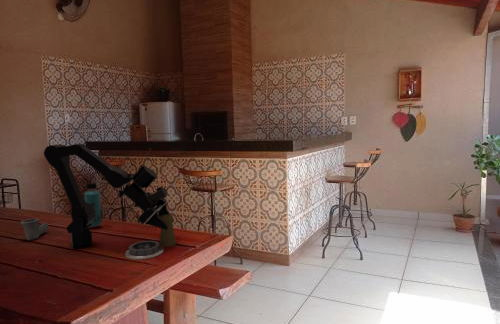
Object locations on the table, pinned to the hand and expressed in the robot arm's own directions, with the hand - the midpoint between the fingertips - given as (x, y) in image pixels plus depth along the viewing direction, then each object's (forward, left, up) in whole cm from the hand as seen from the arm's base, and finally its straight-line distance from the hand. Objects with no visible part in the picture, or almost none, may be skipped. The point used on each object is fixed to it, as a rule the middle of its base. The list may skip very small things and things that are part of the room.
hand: (170, 225), depth 140 cm
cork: (-1, +1, -7) cm, 7 cm away
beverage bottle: (-19, +43, -7) cm, 47 cm away
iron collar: (-11, -3, -7) cm, 14 cm away
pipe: (-42, +44, -7) cm, 61 cm away
